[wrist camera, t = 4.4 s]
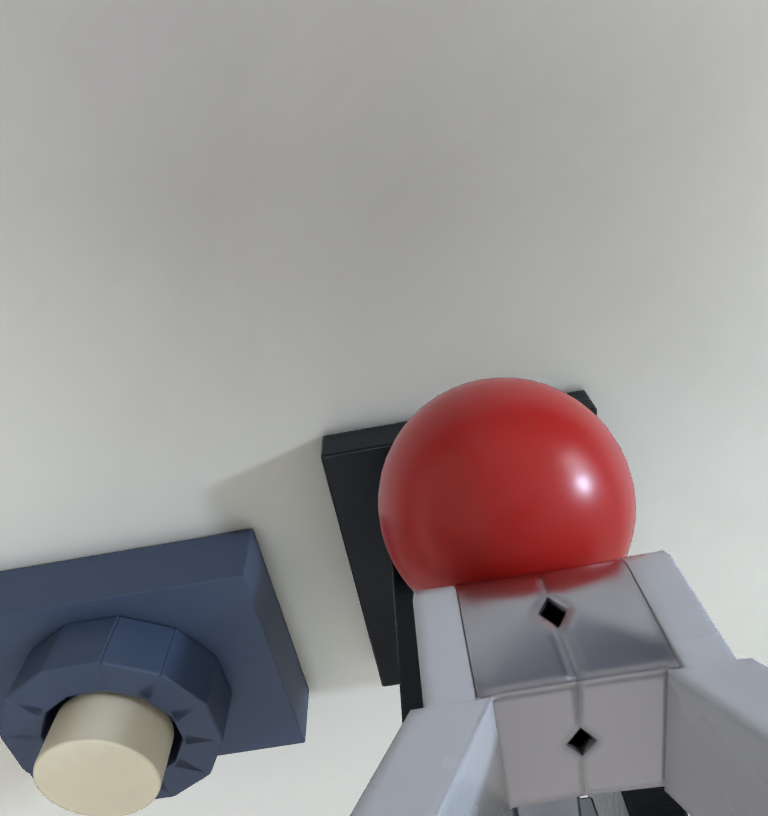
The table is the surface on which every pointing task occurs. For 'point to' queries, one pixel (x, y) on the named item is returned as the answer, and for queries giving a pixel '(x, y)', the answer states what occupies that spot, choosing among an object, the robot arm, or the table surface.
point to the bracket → (393, 599)
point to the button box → (154, 649)
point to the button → (104, 754)
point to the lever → (504, 495)
